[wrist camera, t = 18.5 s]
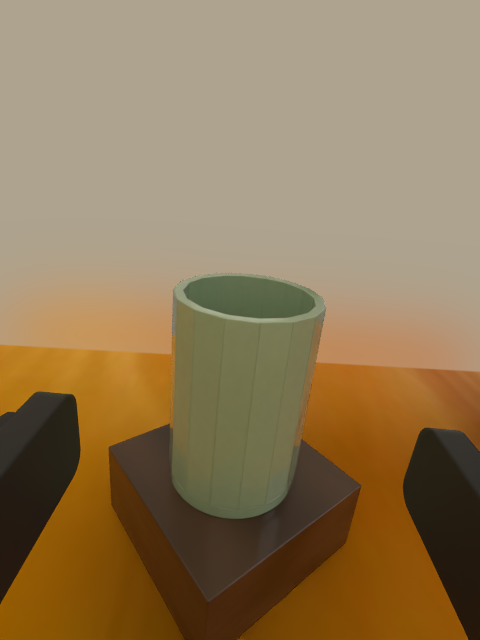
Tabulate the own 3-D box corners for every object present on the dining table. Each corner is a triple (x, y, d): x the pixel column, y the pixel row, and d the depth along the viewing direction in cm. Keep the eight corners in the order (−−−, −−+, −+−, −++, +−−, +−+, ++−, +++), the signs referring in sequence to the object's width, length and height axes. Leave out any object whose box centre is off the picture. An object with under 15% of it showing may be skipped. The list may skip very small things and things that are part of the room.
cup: (240, 414, 22) (256, 268, 19) (317, 479, 18) (356, 306, 15) (148, 453, 19) (147, 281, 15) (217, 546, 14) (238, 335, 11)
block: (239, 443, 26) (244, 394, 24) (345, 543, 19) (362, 485, 18) (111, 504, 20) (108, 446, 19) (201, 670, 14) (207, 602, 12)
